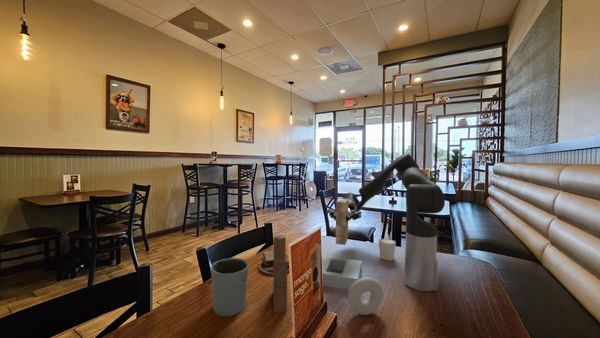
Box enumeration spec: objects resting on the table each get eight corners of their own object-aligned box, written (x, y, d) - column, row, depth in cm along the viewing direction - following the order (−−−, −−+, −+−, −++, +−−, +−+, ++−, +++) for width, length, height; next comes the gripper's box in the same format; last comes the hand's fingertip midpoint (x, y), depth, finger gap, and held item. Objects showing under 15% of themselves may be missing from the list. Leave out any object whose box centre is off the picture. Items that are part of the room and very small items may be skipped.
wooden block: (273, 313, 68) (273, 247, 67) (273, 291, 78) (273, 234, 77) (287, 312, 68) (287, 247, 67) (284, 291, 79) (285, 234, 78)
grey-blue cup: (218, 296, 76) (218, 257, 75) (252, 297, 75) (252, 257, 75) (205, 318, 65) (204, 273, 65) (243, 319, 65) (243, 273, 65)
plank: (347, 238, 101) (348, 198, 101) (345, 244, 94) (345, 202, 93) (339, 237, 102) (339, 198, 102) (335, 243, 95) (336, 201, 94)
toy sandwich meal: (259, 277, 88) (259, 264, 88) (258, 261, 101) (258, 250, 101) (294, 275, 90) (294, 262, 90) (289, 259, 103) (289, 248, 103)
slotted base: (361, 271, 92) (361, 260, 92) (357, 291, 79) (357, 279, 79) (319, 265, 97) (319, 255, 97) (308, 283, 84) (308, 271, 84)
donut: (350, 320, 65) (351, 283, 64) (345, 312, 68) (345, 276, 68) (385, 315, 67) (386, 278, 67) (378, 307, 70) (379, 272, 70)
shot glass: (377, 254, 109) (377, 238, 109) (393, 254, 108) (393, 238, 108) (379, 260, 103) (380, 243, 102) (397, 261, 102) (397, 244, 101)
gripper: (331, 200, 113) (323, 207, 97) (364, 202, 109) (360, 210, 92) (331, 216, 114) (322, 226, 97) (363, 219, 109) (360, 230, 93)
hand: (341, 218), depth 95 cm, fingers closed on plank, 3 cm apart
